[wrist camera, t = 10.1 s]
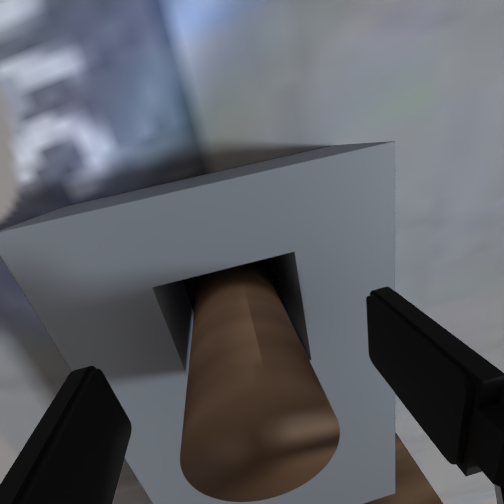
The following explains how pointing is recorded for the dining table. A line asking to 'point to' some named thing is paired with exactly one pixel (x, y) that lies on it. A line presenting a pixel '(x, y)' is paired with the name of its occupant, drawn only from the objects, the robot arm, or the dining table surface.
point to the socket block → (214, 259)
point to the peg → (251, 394)
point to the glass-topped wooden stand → (408, 481)
